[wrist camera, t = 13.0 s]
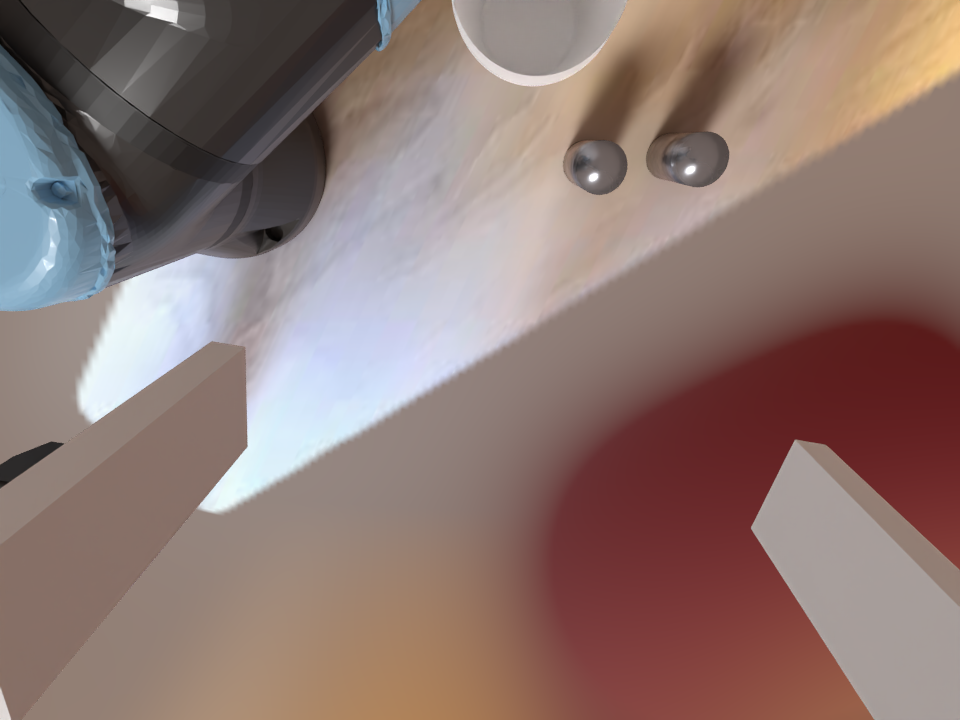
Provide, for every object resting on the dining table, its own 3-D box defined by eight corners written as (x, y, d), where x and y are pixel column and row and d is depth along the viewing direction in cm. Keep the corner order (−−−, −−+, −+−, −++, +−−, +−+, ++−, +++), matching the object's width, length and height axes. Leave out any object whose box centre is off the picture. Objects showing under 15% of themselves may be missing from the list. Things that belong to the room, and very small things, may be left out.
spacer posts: (558, 181, 39) (570, 189, 32) (640, -188, 30) (677, -277, 24) (799, 225, 39) (858, 242, 33) (946, -124, 31) (1063, -194, 24)
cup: (482, -76, 33) (472, -186, 22) (614, -34, 33) (670, -120, 22) (450, 78, 36) (427, 51, 25) (570, 113, 37) (598, 102, 26)
